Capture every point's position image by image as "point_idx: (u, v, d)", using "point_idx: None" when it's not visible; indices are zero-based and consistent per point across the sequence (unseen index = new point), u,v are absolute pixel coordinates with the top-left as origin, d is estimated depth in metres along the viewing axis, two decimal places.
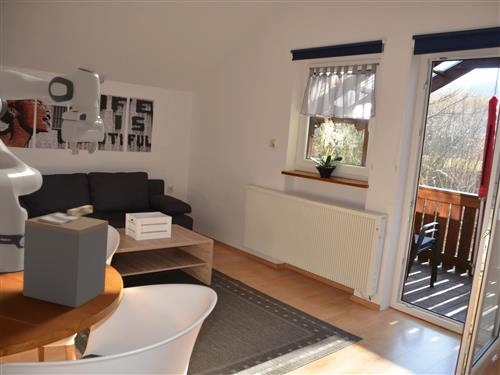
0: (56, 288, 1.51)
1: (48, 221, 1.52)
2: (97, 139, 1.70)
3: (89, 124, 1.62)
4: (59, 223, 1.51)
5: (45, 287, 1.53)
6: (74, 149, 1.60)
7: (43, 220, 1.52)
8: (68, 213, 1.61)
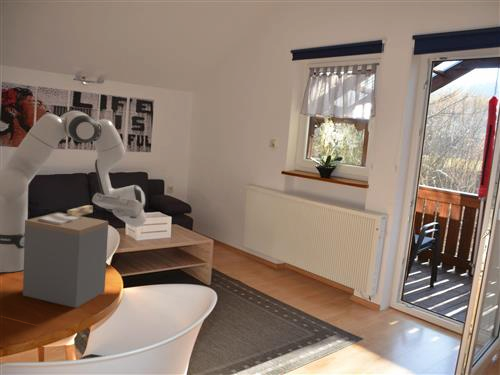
0: (56, 288, 1.51)
1: (48, 221, 1.52)
2: (101, 203, 1.88)
3: (121, 212, 1.91)
4: (59, 223, 1.51)
5: (45, 287, 1.53)
6: (122, 200, 1.83)
7: (43, 220, 1.52)
8: (68, 213, 1.61)
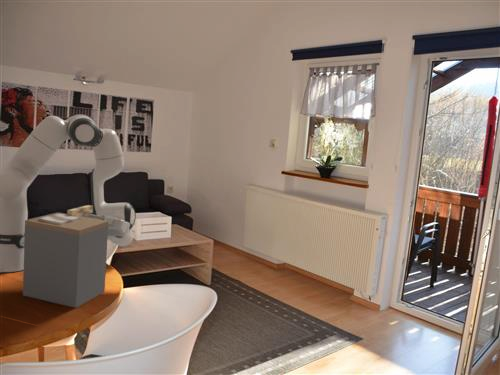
0: (56, 288, 1.51)
1: (48, 221, 1.52)
2: None
3: None
4: (59, 223, 1.51)
5: (45, 287, 1.53)
6: (107, 220, 1.75)
7: (43, 220, 1.52)
8: (68, 213, 1.61)
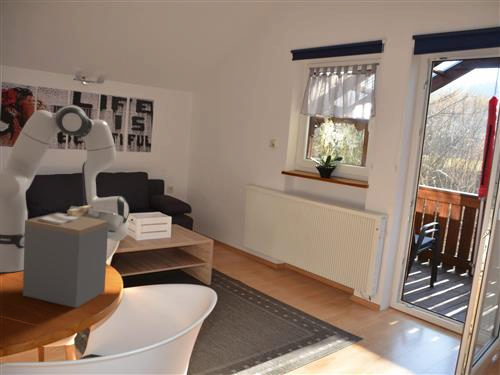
0: (56, 288, 1.51)
1: (48, 221, 1.52)
2: None
3: None
4: (59, 223, 1.51)
5: (45, 287, 1.53)
6: (92, 212, 1.70)
7: (43, 220, 1.52)
8: (68, 213, 1.61)
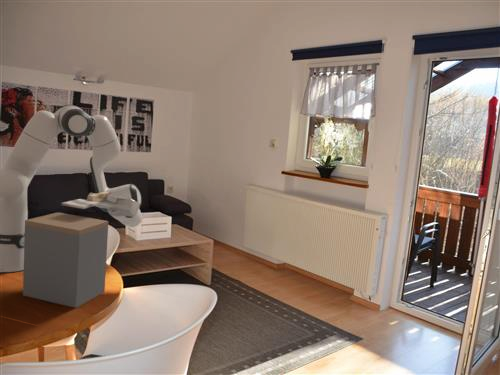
0: (56, 288, 1.51)
1: (71, 205, 1.60)
2: None
3: (116, 212, 1.86)
4: (81, 207, 1.59)
5: (45, 287, 1.53)
6: (111, 198, 1.79)
7: (66, 204, 1.61)
8: (89, 198, 1.70)
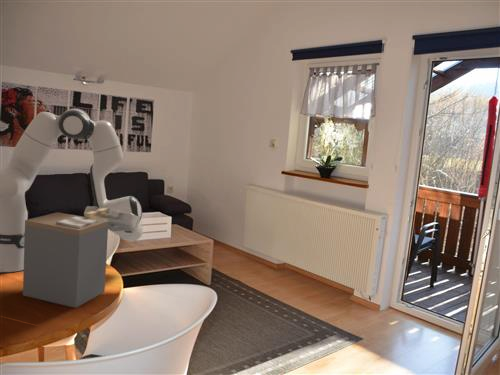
0: (56, 288, 1.51)
1: (66, 224, 1.50)
2: None
3: (115, 226, 1.75)
4: (78, 226, 1.49)
5: (45, 287, 1.53)
6: (113, 213, 1.67)
7: (61, 223, 1.50)
8: (85, 216, 1.59)
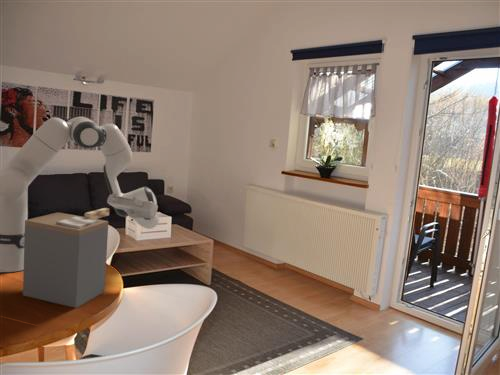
0: (56, 288, 1.51)
1: (66, 224, 1.50)
2: (116, 204, 1.88)
3: (135, 214, 1.91)
4: (78, 226, 1.49)
5: (45, 287, 1.53)
6: (138, 201, 1.82)
7: (61, 223, 1.50)
8: (85, 216, 1.59)
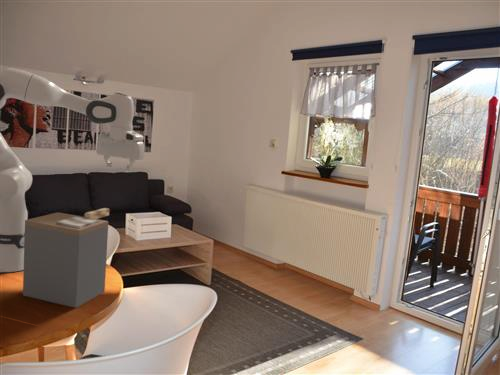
0: (56, 288, 1.51)
1: (66, 224, 1.50)
2: None
3: None
4: (78, 226, 1.49)
5: (45, 287, 1.53)
6: (131, 165, 1.86)
7: (61, 223, 1.50)
8: (85, 216, 1.59)
